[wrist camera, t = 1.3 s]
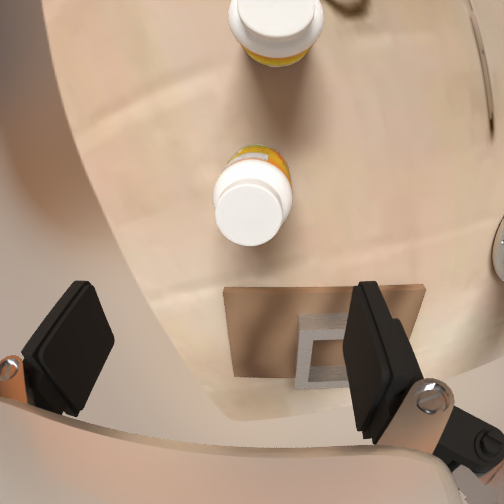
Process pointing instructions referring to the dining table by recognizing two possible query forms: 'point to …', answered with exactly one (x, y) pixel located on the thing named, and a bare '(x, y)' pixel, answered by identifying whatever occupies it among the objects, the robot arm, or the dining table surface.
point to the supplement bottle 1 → (276, 28)
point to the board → (286, 324)
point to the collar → (308, 331)
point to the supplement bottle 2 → (253, 195)
